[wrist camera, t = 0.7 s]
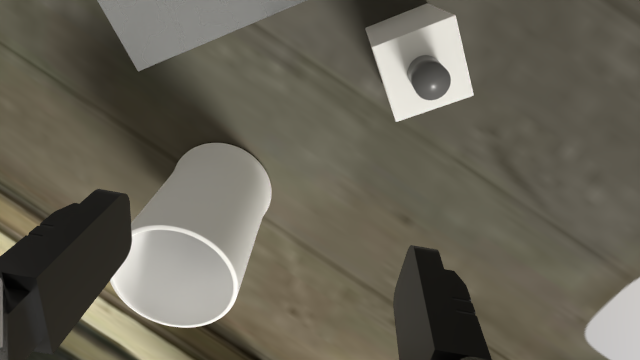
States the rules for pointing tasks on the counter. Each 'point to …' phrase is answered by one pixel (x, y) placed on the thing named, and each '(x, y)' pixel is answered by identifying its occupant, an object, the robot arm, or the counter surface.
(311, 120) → the counter surface
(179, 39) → the socket plate
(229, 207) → the mug
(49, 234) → the robot arm
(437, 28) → the plug
